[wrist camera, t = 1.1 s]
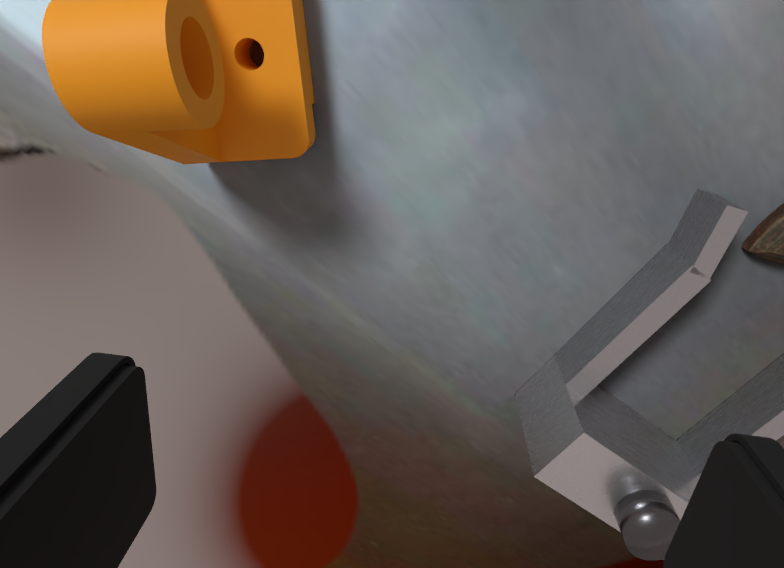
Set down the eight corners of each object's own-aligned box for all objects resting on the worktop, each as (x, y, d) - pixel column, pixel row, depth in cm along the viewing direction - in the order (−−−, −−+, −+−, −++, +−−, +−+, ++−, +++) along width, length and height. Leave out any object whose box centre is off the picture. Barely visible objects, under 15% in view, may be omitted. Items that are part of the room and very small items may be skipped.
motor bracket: (703, 183, 32) (811, 241, 23) (874, 325, 35) (1030, 427, 26) (502, 385, 38) (523, 493, 29) (660, 491, 41) (724, 619, 32)
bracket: (320, 148, 33) (263, 203, 22) (202, 154, 33) (89, 212, 22) (295, -64, 28) (208, -127, 17) (160, -52, 29) (-5, -105, 18)
